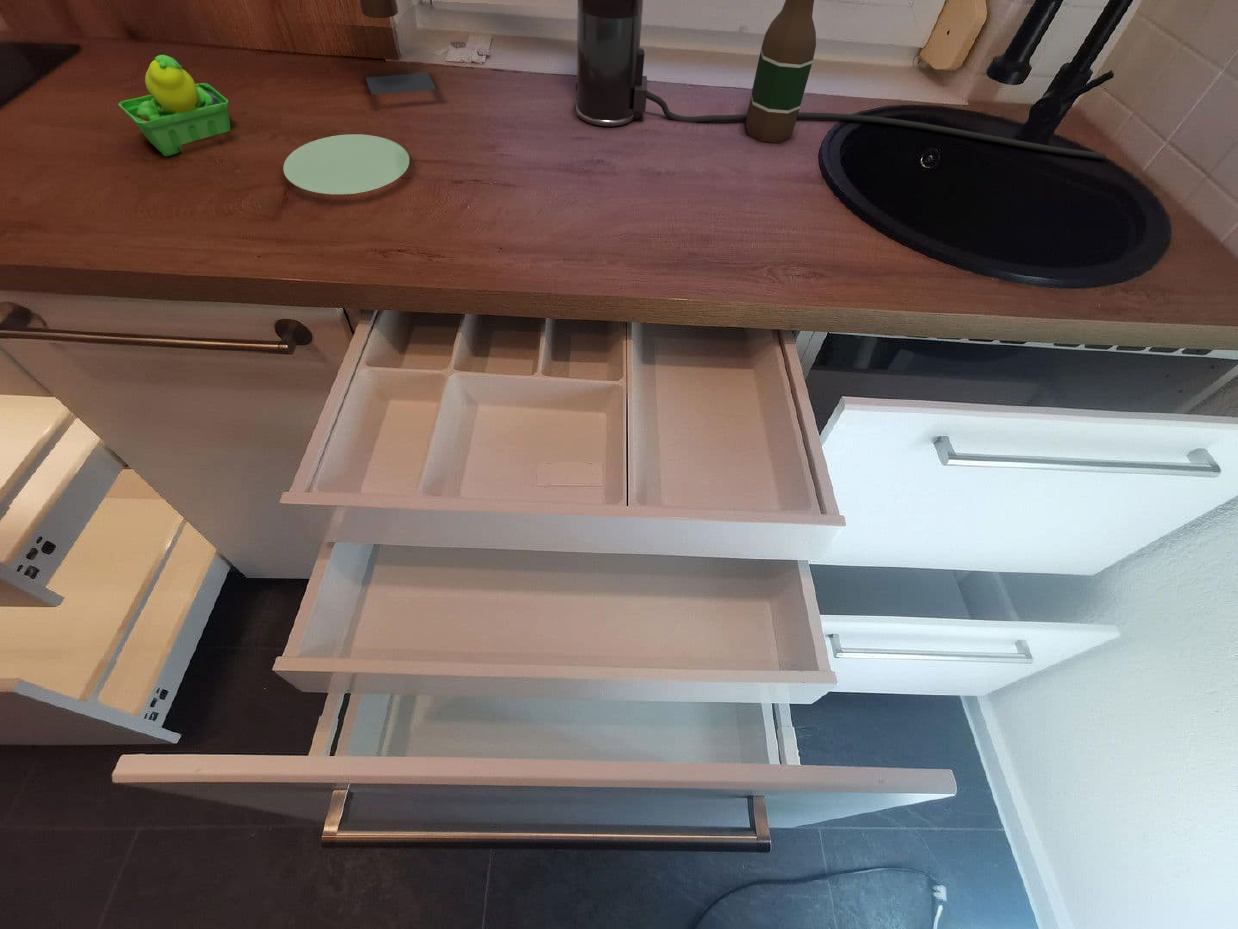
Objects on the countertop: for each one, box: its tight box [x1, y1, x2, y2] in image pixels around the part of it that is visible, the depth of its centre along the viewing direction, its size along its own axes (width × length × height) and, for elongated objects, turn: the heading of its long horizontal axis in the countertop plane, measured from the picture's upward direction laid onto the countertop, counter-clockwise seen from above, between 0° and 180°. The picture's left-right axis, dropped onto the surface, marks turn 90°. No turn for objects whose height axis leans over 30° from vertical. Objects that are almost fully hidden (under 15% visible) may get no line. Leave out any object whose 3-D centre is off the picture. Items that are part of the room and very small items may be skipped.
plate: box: [282, 133, 410, 195], centre depth 83 cm, size 16×16×1 cm
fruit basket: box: [118, 54, 232, 157], centre depth 81 cm, size 11×9×11 cm
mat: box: [365, 72, 437, 96], centre depth 98 cm, size 10×10×1 cm
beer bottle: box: [745, 0, 817, 144], centre depth 88 cm, size 8×8×24 cm
